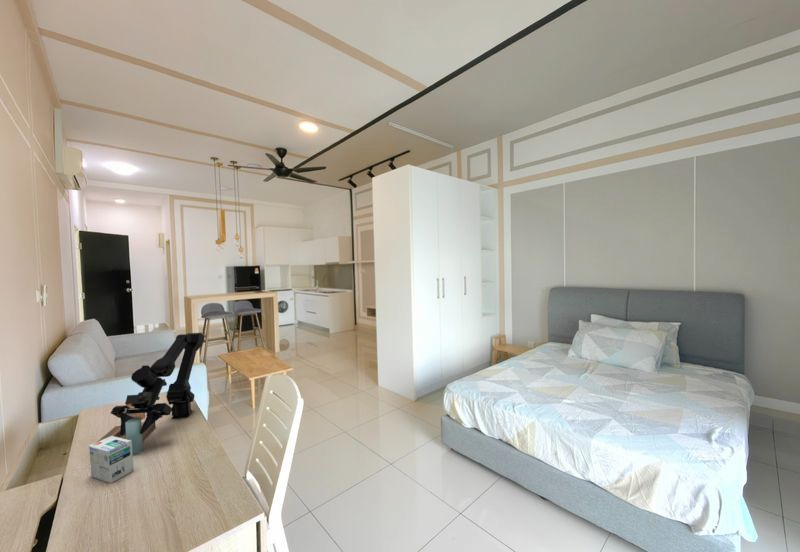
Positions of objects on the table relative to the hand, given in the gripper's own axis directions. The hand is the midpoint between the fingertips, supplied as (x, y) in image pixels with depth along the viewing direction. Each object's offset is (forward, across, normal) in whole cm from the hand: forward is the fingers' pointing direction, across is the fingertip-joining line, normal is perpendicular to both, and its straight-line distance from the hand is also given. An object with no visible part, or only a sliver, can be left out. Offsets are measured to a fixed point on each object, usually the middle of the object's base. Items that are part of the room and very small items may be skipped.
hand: (131, 434), depth 113 cm
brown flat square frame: (-3, -10, +14) cm, 17 cm away
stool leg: (+4, 0, +6) cm, 8 cm away
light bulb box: (+13, +2, -2) cm, 13 cm away
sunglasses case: (-18, -23, +30) cm, 42 cm away
